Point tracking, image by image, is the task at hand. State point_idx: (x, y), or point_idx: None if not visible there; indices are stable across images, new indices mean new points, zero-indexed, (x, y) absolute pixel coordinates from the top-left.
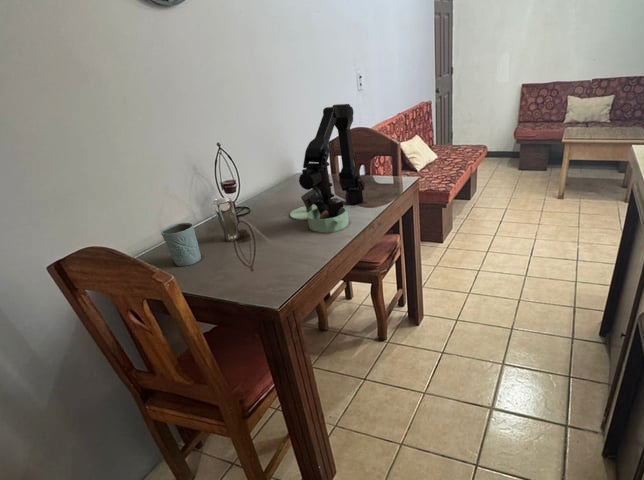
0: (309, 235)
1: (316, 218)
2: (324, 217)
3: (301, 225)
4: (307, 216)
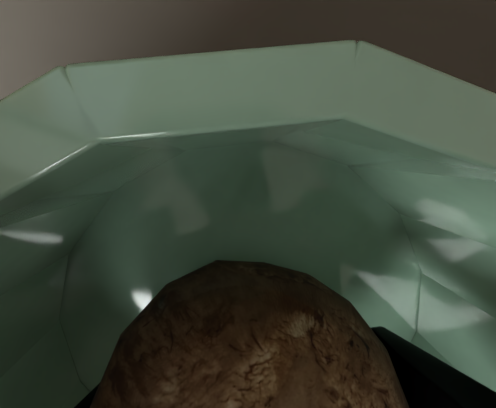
0: (94, 44)
1: (446, 274)
2: (135, 399)
3: None
4: (368, 53)
